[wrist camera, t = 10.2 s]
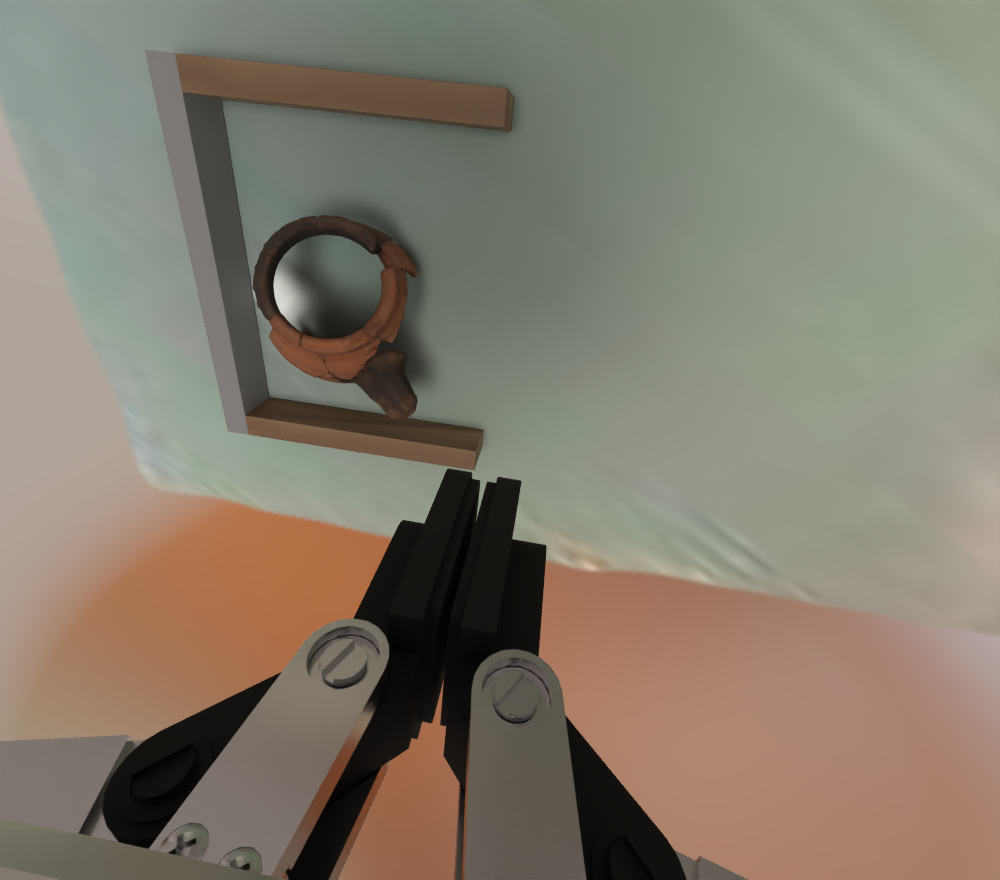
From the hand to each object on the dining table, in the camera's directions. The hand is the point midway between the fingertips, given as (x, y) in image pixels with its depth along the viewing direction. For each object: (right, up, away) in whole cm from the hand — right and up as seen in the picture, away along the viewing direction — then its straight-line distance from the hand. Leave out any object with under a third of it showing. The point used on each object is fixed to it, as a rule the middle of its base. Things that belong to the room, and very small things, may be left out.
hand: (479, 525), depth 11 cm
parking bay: (-8, +12, +19) cm, 24 cm away
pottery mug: (-8, +10, +20) cm, 24 cm away
